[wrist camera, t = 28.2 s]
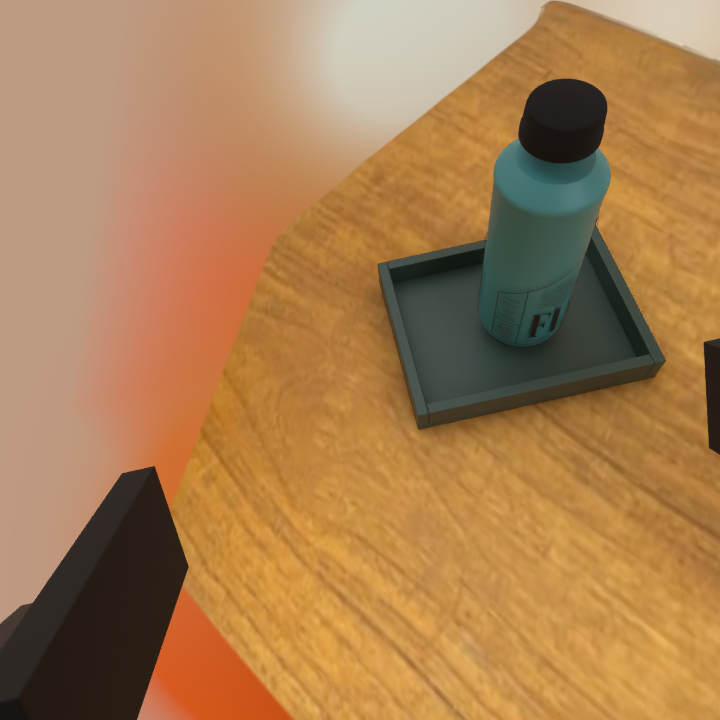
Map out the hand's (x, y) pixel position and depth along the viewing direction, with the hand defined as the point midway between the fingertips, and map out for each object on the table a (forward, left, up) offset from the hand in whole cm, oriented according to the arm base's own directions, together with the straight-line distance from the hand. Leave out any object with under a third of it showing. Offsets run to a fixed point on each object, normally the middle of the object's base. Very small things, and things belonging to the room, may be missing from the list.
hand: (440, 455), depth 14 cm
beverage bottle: (+11, +18, -27) cm, 34 cm away
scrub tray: (+11, +18, -27) cm, 34 cm away
